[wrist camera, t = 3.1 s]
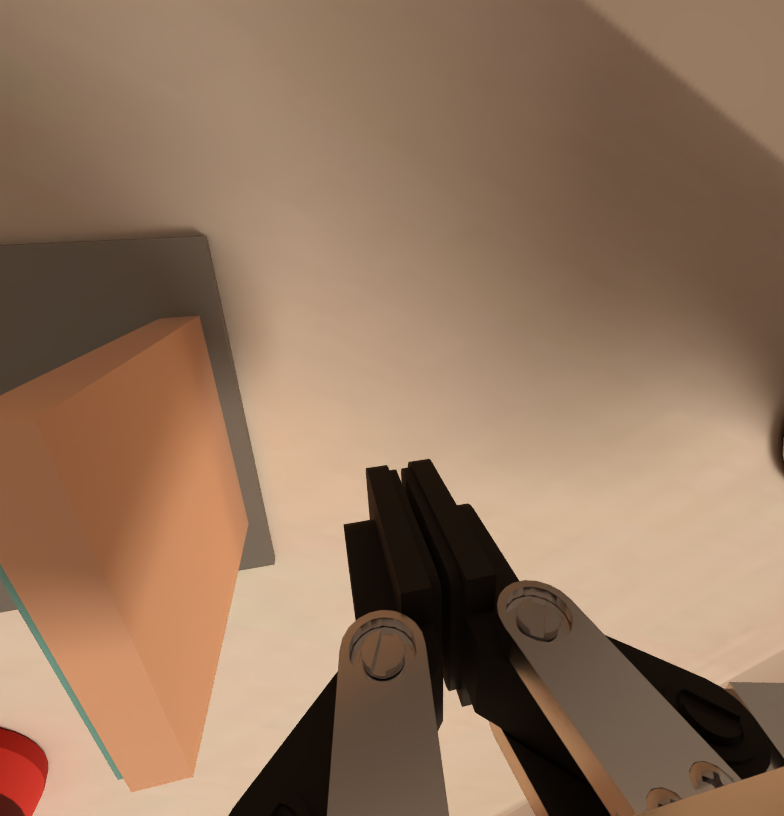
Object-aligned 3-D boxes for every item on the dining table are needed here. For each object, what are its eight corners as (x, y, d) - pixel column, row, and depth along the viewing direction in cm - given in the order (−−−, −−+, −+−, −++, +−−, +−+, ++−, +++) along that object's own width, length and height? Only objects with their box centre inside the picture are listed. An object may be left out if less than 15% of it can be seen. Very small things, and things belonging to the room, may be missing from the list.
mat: (206, 236, 13) (191, 234, 11) (275, 558, 19) (271, 588, 17) (-280, 258, 11) (-382, 260, 9) (-42, 612, 17) (-80, 653, 15)
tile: (199, 315, 14) (32, 420, 5) (248, 523, 17) (192, 776, 9) (149, 319, 13) (-102, 434, 5) (210, 529, 17) (116, 796, 9)
